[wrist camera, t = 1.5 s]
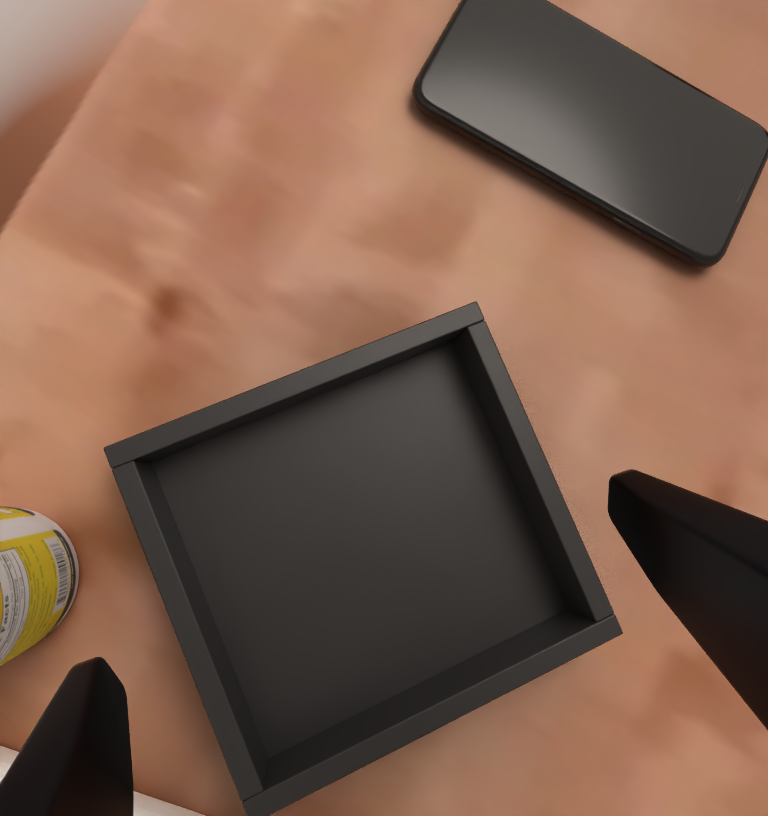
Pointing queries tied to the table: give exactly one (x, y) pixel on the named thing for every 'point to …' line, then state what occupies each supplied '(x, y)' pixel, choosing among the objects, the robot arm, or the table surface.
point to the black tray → (360, 554)
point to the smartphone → (595, 123)
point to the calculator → (147, 809)
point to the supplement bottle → (33, 579)
